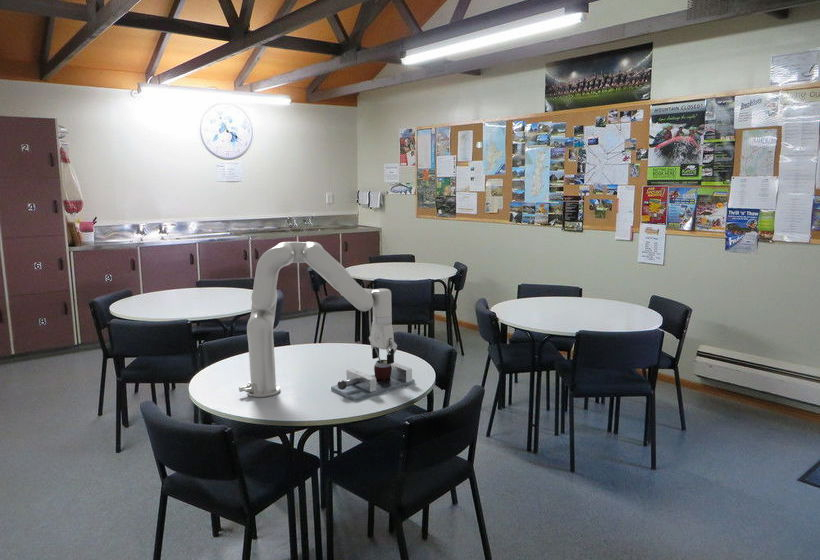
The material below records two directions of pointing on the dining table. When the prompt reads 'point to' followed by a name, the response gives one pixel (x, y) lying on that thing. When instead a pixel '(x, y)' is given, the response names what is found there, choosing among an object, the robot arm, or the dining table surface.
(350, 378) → the vise jaw
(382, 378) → the mate gourd
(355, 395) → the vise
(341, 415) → the dining table surface
